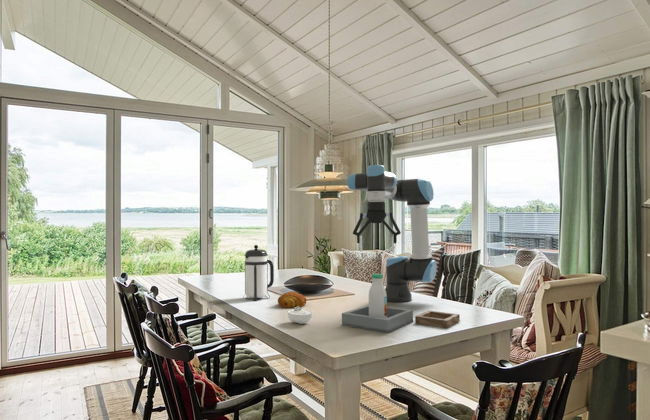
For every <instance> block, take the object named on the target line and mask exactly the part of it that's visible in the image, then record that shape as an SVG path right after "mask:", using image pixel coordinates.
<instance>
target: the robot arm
mask: <svg viewBox="0 0 650 420" xmlns="http://www.w3.org/2000/svg"><path fill="white" fill-rule="evenodd" d="M346 185H347V187H348V189H349V190H351V191H359V190H360V191H364V192H366V197H367V198H366V199H367V201H368V202H366V203H367V204H366V205H367V212H366V213H364V212H360V213H359V219H358V221H357V223H356V225H355V227H354V229H353V232H352V235H354V236H356V243H357V244H359V252H363V236H362V234H363V232H364V231H365V229H367V228H368V226H369V225H370V224H371V223H372V224H381V223H382V224H383V225H384V226H385V227H386V229H387V230H388V231H389V232H390V233H391V234H392V235H391V252H392V253H393V252H394V251H395V244H397V242H398V241H397V237H398V235H401V233H402V231H401V230H400V228H399V226H398V224H397V223H396V221H395V219H394V215H393V212H388V213H386V202H385V201H386V199H388V200H392V201H395V202H406V205H407V206H408V208H409V209H410V231H411V234H410V235H411V246H412V247H411V250H412V252H411V255H410V256H409V257H408V256H407V255H404V256H394V257H388V258H387V259H386V265H385V274H386V278H385V279H386V280H385V282H386V286H385V290H386V295H387V302H390V303H391V302H392V303H393V302H394V303H406V302H411V301H412V300H413V298H412V297H413V296H412V293H411V291H410V287H409V282H414V283H415V282H416V283H417V282H418V283H431V282H433V281H434V280H435V278H436V274H437V268H438V267H437V260H435V259H433V255H432V254H431V253H430V243H429V223H428V208H429V206H430V204H431V202H432V201H433V200H434V188H433V184H432V183H431V181H430V180H429V179H428V178H421V177H420V178H411V179H410V178H409V179H408V178H407V179H398V178H397V176H396V175H395V173H393V172H391V171H386V169H385V166H384V165H382V164H373V165H372V164H370V165H368V166H367V167H366V172H362V173H359V172H358V173H350V174H349V175H348V176H347V178H346ZM386 217H387V218H388V219H390V221H391V223H392V225H393V227H394V228H392V227H391V225H390V224H389V223H388V222H387V221H386V220H385V219H386ZM365 218H367V219H368V220H367V221H366V222H365V224H364V225H363V226H362V227H361V224H362V222H363V220H364V219H365ZM360 227H361V228H360ZM359 228H360V230H359Z"/></svg>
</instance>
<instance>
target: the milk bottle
mask: <svg viewBox="0 0 650 420" xmlns="http://www.w3.org/2000/svg"><path fill="white" fill-rule="evenodd" d="M383 277H384V275H383V274H382V273H372V274H371V280H372V282H371V286H370V288H369V291H368V305H369V316H372V317H379V318H387V307H388V301H387V295H386V290H385V289H386V287H385V285H384V283H383V280H384V278H383Z"/></svg>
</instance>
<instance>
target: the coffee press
mask: <svg viewBox="0 0 650 420" xmlns="http://www.w3.org/2000/svg"><path fill="white" fill-rule="evenodd" d="M268 265H269V269H270V271H269V270H268ZM274 271H275V270H274V263H273V261H272V260H270V259H268V252H267V251H266V250H265V249H259V246H258V245H257V244H254V246H253V249H248V250H246V251H245V254H244V296H243V297H242V299H243V298H246V299H247V298H251V299H253V301H254V300H255V301H254V302H257V301H258V299H260V298H264V297H265V298H267V299H268V298H269V299H270V298H271V296H270V295H269V288H271V287H272V286H273V284H274V282H275V279H274V277H275V276H274V274H275V273H274ZM268 272H269V275H270V277H268ZM268 278H270V280H268ZM268 282H269V283H268ZM267 295H268V296H267ZM245 296H246V297H245ZM256 300H257V301H256Z"/></svg>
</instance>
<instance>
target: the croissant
mask: <svg viewBox="0 0 650 420" xmlns="http://www.w3.org/2000/svg"><path fill="white" fill-rule="evenodd" d="M307 299H308V298H306V296H305V295H303V294H302V293H299V292H297V291H287V292H285V293H282V294H281V295H280V296H279V297H278V298H277V303H278V305H279V307H281V308H284V309H289V308H290V309H295V308H294V307H301V308H303V307H304V306H305V305H306V304H307Z"/></svg>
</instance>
